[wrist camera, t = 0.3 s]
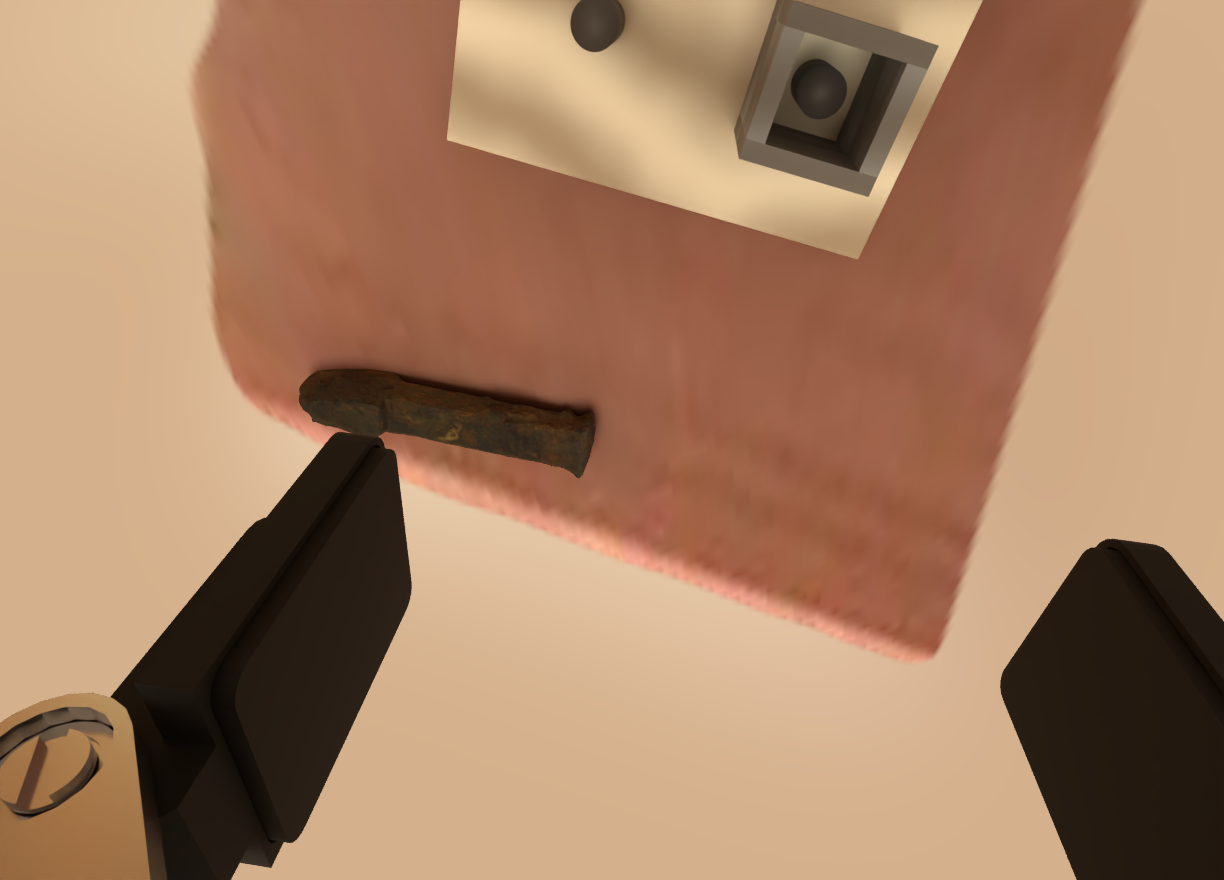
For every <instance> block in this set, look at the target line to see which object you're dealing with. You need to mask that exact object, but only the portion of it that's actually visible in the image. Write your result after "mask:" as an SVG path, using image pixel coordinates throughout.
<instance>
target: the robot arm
mask: <svg viewBox="0 0 1224 880" xmlns="http://www.w3.org/2000/svg"><path fill="white" fill-rule="evenodd" d="M403 517H404V516H403V508H402V500H401V492H400V483H399V475H398V466H397V458H396V454H395V452H394V451H393V450H391V449H385V447H384V443H383V441H382V439H381V438H379V437H374V436H367V435H359V434H352V433H345V432H337V433H335V434H334V435H333V436H332V437H331V438H330V439H329V440H328V441H327V443H326V444H325V445H324V446H323V448H322V449H321V450H320V451H319V453H318V454H317V455H316V457H315V458H314V459H313V460H312V461H311V463H310V464H309V465H308V466H307V468H306V469H305V470H304V471H303V473H302V474H301V475H300V476H299V478H298V479H297V480H296V481H295V483H294V484H293V485H292V486H291V488H290V489H289V490H288V491H287V492H286V494H285V495H284V496H283V498H282V499H281V500H280V501H279V503H278V504H277V505H276V506H275V508H274V509H273V510H272V511H271V512H270V514H269V515H268V516H267V517H266V518H263V519H261V520H258V521H257V522H255V523H254V524H253V525H252V526H251V527H250V528H249V529H248V530H247V531H246V532H245V533H244V535H243V536H242V537H241V538H240V539H239V541H238V542H237V543H236V544H235V546H234V547H233V548H232V549H231V550H230V552H229V553H228V554H227V556H226V557H225V558H224V559H223V560H222V561H221V563H220V564H219V565H218V566H217V568H216V569H215V570H214V571H213V572H212V574H211V575H210V576H209V577H208V579H207V580H206V581H205V582H204V584H203V585H202V586H201V587H200V588H199V589H198V591H197V592H196V593H195V594H194V596H193V597H192V598H191V599H190V600H189V602H188V603H187V604H186V605H185V607H184V608H183V609H182V611H180V613H179V614H178V615H177V616H176V618H175V619H174V620H173V621H172V622H171V624H170V625H169V626H168V627H167V629H166V630H165V631H164V632H163V633H162V635H161V636H160V637H159V638H158V640H157V641H156V642H155V643H154V644H153V646H152V647H151V648H150V649H149V651H148V652H147V653H146V654H145V656H144V657H143V658H142V659H141V660H140V662H139V663H138V664H137V665H136V666H135V668H134V669H133V670H132V671H131V673H130V674H129V675H128V676H127V677H126V679H125V680H124V681H123V682H122V684H121V685H120V686H119V687H118V688H117V690H116V691H115V692H114V693H113V695H112V696H111V697H107V696H103V695H99V694H95V693H83V694H67V695H63V696H60V697H56V698H52V699H48V700H44V701H41V702H39V703H36V704H34V705H32V706H30V707H28V708H26V709H23V710H21V711H19V712H17V713H15V714H13V715H11V716H10V717H8V718H7V719H5V720H4V721H2V722H1V723H0V880H231V878H232V876H233V874H234V873H235V871H236V869H237V867H238V865H239V863H245V864H252V865H258V866H263V867H269V868H271V867H272V865H273V863H274V861H275V859H276V857H277V854H278V853H279V851H280V848H281V846H282V844H283V842H287V843H292V842H294V841H295V840H297V838H298V837H299V836H300V834H301V833H302V831H303V829H304V827H305V825H306V823H307V821H308V819H309V817H310V815H311V813H312V811H313V808H314V806H315V804H316V802H317V800H318V798H319V796H320V793H321V791H322V789H323V787H324V785H325V783H326V781H327V778H328V776H329V774H330V772H331V770H332V768H333V766H334V764H335V761H336V759H337V757H338V755H339V753H340V751H341V748H342V746H343V744H344V742H345V740H346V738H347V736H348V734H349V731H350V729H351V727H352V725H353V723H354V721H355V719H356V716H357V714H358V712H359V710H360V708H361V706H362V704H363V701H364V699H365V697H366V695H367V693H368V691H369V689H370V687H371V684H372V682H373V680H374V678H375V676H376V674H377V672H378V669H379V667H380V665H381V663H382V661H383V659H384V657H385V654H386V652H387V650H388V648H389V646H390V644H391V642H392V639H393V637H394V635H395V633H396V631H397V629H398V627H399V624H400V622H401V620H402V618H403V616H404V614H405V611H406V609H407V607H408V604H409V600H410V596H411V588H412V587H411V586H412V585H411V574H410V566H409V558H408V550H407V542H406V534H405V525H404V518H403ZM1000 688H1001V694H1002V698H1003V700H1004V703H1005V706H1006V708H1007V710H1008V713H1009V715H1010V718H1011V720H1012V723H1013V725H1014V728H1015V730H1016V732H1017V735H1018V737H1019V740H1020V742H1021V744H1022V747H1023V750H1024V752H1025V754H1026V757H1027V759H1028V762H1029V764H1030V766H1031V769H1032V771H1033V774H1034V776H1035V779H1036V781H1037V784H1038V786H1039V789H1040V791H1041V794H1042V796H1043V798H1044V801H1045V803H1046V806H1047V808H1048V811H1049V813H1050V816H1051V818H1052V820H1053V823H1054V825H1055V828H1056V830H1057V833H1058V835H1059V838H1060V840H1061V843H1062V845H1063V847H1064V850H1065V852H1066V854H1067V857H1068V860H1069V862H1070V864H1071V867H1072V869H1073V872H1074V874H1075V877H1076V879H1077V880H1224V621H1223V620H1222V619H1221V618H1220V616H1219V615H1218V614H1217V613H1216V611H1215V610H1214V609H1213V608H1212V606H1211V605H1210V604H1209V603H1208V601H1207V600H1206V599H1205V598H1204V596H1203V595H1202V594H1201V593H1200V591H1199V590H1198V589H1197V588H1196V586H1195V585H1194V584H1193V582H1192V581H1191V580H1190V579H1189V577H1188V576H1187V575H1186V574H1185V573H1184V571H1183V570H1182V569H1181V567H1180V566H1179V565H1178V564H1177V563H1176V561H1175V560H1174V559H1173V557H1172V556H1171V555H1170V554H1169V553H1168V552H1167V551H1166V550H1165V549H1164V548H1162V547H1160V546H1157V545H1153V544H1146V543H1140V542H1132V541H1125V540H1118V539H1107V540H1105V541H1102V542H1100V543H1099V544H1098V545H1097V547H1095V548H1090V549H1087V550H1086V551H1085V552H1084V553H1083V554H1082V555H1081V557H1080V558H1079V560H1078V562H1077V563H1076V564H1075V566H1074V567H1073V569H1072V570H1071V572H1070V573H1069V575H1068V576H1067V578H1066V579H1065V581H1064V582H1063V583H1062V585H1061V587H1060V588H1059V589H1058V591H1057V592H1056V594H1055V595H1054V597H1053V598H1052V600H1051V601H1050V603H1049V604H1048V606H1047V607H1046V609H1045V610H1044V612H1043V613H1042V615H1041V616H1040V618H1039V619H1038V620H1037V622H1036V624H1035V625H1034V626H1033V628H1032V629H1031V631H1030V632H1029V634H1028V635H1027V637H1026V638H1025V640H1024V641H1023V643H1022V644H1021V646H1020V647H1019V648H1018V650H1017V651H1016V653H1015V654H1014V656H1013V657H1012V659H1011V660H1010V662H1009V664H1008V665H1007V666H1006V668H1005V669H1004V671H1003V673H1002V677H1001V685H1000Z"/></svg>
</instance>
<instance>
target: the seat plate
mask: <svg viewBox="0 0 1224 880" xmlns="http://www.w3.org/2000/svg"><path fill="white" fill-rule="evenodd" d="M982 1H983V0H461V1H460V11H459V21H458V32H457V42H456V52H455V62H454V72H453V83H452V93H451V103H450V113H449V123H448V134H447V140H449V141H453V142H456V143H459V144H463V145H466V146H470V147H473V148H477V149H480V150H484V151H487V152H490V153H494V154H497V155H501V156H504V157H508V158H511V159H514V160H518V161H521V162H525V163H528V164H532V165H535V166H539V167H542V168H545V169H549V170H552V171H556V172H559V173H563V174H566V175H569V176H573V177H576V178H580V179H583V180H587V181H590V182H594V183H597V184H600V185H604V186H607V187H611V188H614V189H618V190H621V191H624V192H628V193H631V194H635V195H638V196H642V197H645V198H649V199H652V200H655V201H659V202H662V203H666V204H669V205H673V206H676V207H679V208H683V209H686V210H690V211H693V212H697V213H700V214H704V215H707V216H710V217H714V218H717V219H721V220H724V221H728V222H731V223H734V224H738V225H741V226H745V227H748V228H752V229H755V230H759V231H762V232H765V233H769V234H772V235H776V236H779V237H783V238H786V239H789V240H793V241H796V242H800V243H803V244H807V245H810V246H814V247H817V248H820V249H824V250H827V251H831V252H834V253H838V254H841V255H844V256H848V257H851V258H855V259H858V258H859V256H860V254H861V252H862V250H863V248H864V246H865V244H866V242H867V239H868V237H869V235H870V233H871V231H872V229H873V227H874V225H875V223H876V221H877V219H878V217H879V215H880V212H881V210H882V208H883V206H884V204H885V202H886V200H887V198H888V196H889V194H890V192H891V190H892V188H893V186H894V183H895V181H896V179H897V177H898V175H899V173H900V171H901V169H902V167H903V165H904V163H905V161H906V159H907V156H908V154H909V152H910V150H911V148H912V146H913V144H914V142H915V140H916V138H917V136H918V134H919V132H920V130H921V127H922V125H923V123H924V121H925V119H926V117H927V115H928V113H929V111H930V109H931V107H932V105H933V103H934V100H935V98H936V96H937V94H938V92H939V90H940V88H941V86H942V84H943V82H944V80H945V78H946V76H947V74H948V71H949V69H950V67H951V65H952V63H953V61H954V59H955V57H956V55H957V53H958V51H959V49H960V47H961V45H962V42H963V40H964V38H965V36H966V34H967V32H968V30H969V28H970V26H971V24H972V22H973V20H974V18H975V15H976V13H977V11H978V9H979V7H980V5H981V3H982Z"/></svg>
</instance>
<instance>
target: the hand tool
mask: <svg viewBox="0 0 1224 880" xmlns="http://www.w3.org/2000/svg"><path fill="white" fill-rule="evenodd" d="M299 390H300V396H299V403H300V405H301V407H302V408H303V410H305V411H306V412H307V413H309V414H310V416H311V417H312V422H317V423H320V424H323V425H325V426H332V427H336V428H339V429H342V430H345V431H347V432H350V433H353V434H359V435H367V436H374V437H378V436H380V435H381V434H383V433H384V432H390V433H396V434H405V435H410V436H417V437H421V438H426V439H429V440H433V441H437V442H442V443H446V444H451V445H457V446H461V447H465V448H470V449H475V450H480V451H484V452H490V453H494V454H500V455H504V456H507V457H514V458H518V459H523V460H529V461H535V462H540V463H544V464H548V465H551V466H555V467H561V468H564V469H566V470H568V471H570V472H572V473H573V474H574V475H575V476H576V477H577V478H580V477H581V476H582V475H583V472H584V470H585V467H586V465H587V462H588V459H589V457H590V452H591V448H592V445H593V442H594V434H595V428H596V427H595V426H594V417H593V413H592V412H590V413H586V414H584V415H582V416H576V415H575V413H574V412H572V411H571V410H570V409H565V410H564V411H562V412H555V411H550V410H543V409H539V408H535V407H532V406H526V405H521V404H520V405H515V404H510V403H506V402H502V401H497V400H493V399H492V398H490V397H488V396H484V397H479V396H474V395H469V394H466V393H461V392H452V391H447V390H442V389H437V388H433V387H429V386H424V385H419V384H413V383H408V382H404V381H403V380H402V379H401V377H400V376H399V375H397V374H396V373H391V372H384V371H374V370H334V371H320V372H315V373H313V374H312V375H310V376H309V377H308V378H307V379H306V380H305V381H304V382H303V384H302V385H301V386H300V388H299Z"/></svg>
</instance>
